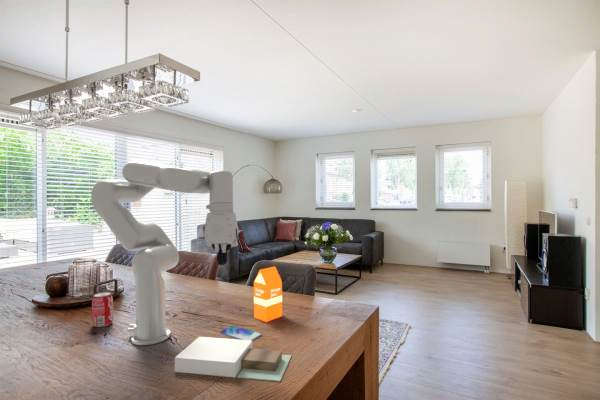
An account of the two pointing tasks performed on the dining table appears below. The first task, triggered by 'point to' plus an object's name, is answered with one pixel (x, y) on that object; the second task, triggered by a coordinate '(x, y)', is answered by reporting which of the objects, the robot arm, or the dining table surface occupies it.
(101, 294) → the soda can
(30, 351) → the dining table surface
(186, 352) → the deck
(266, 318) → the orange juice
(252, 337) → the smartphone
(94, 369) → the dining table surface
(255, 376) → the mat
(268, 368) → the walnut tile
